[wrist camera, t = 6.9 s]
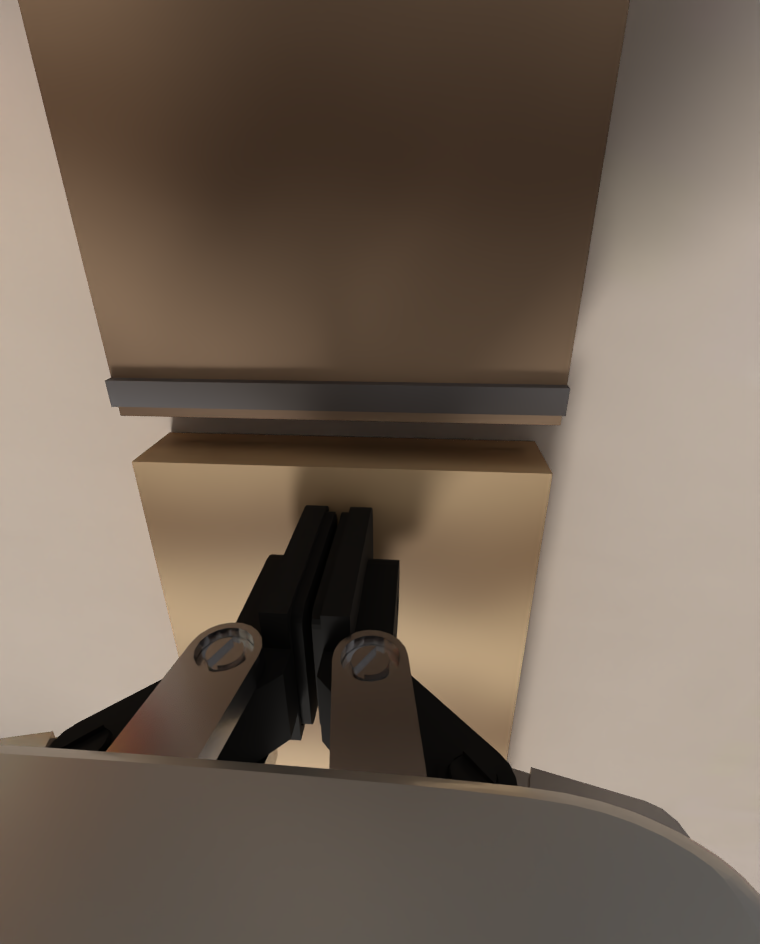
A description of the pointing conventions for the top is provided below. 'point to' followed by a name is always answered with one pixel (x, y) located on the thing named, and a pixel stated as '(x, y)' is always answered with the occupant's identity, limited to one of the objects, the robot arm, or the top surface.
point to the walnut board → (332, 198)
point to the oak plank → (394, 537)
